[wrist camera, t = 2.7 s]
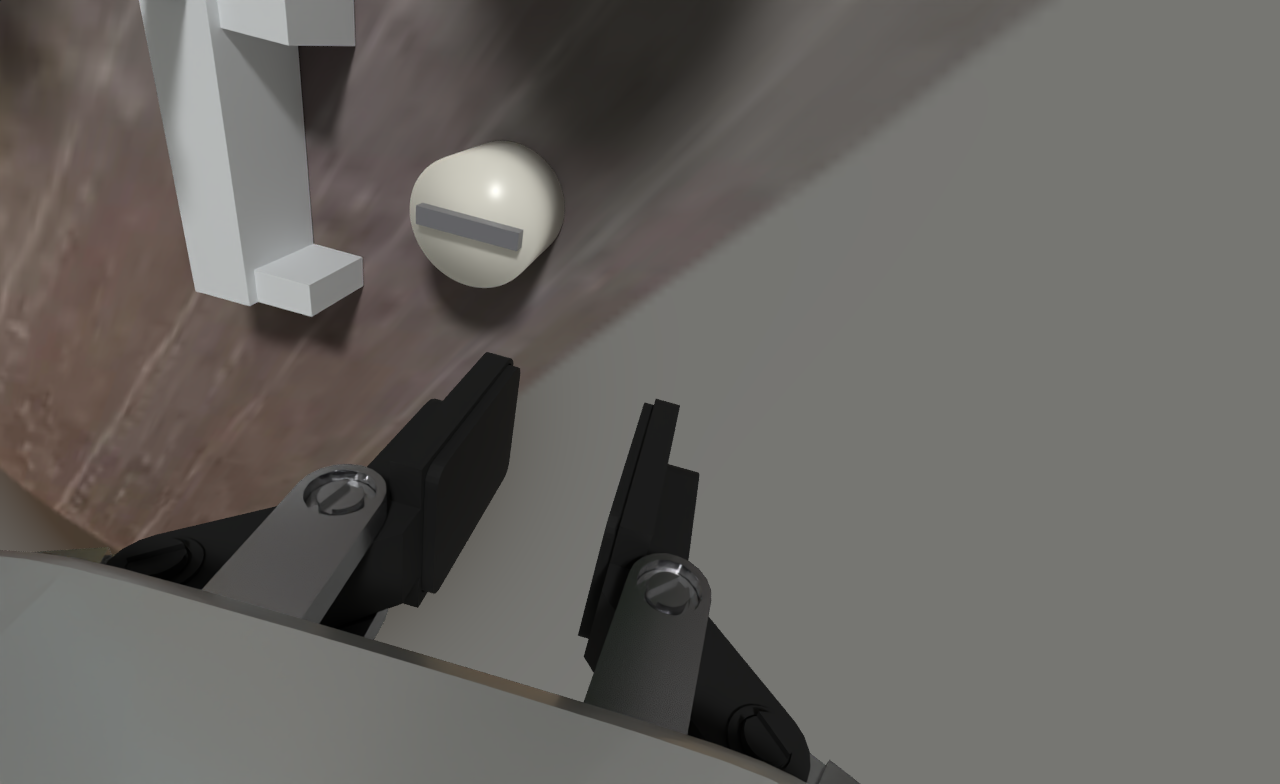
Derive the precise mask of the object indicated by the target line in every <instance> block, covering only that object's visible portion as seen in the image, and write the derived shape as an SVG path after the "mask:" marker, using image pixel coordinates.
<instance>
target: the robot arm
mask: <svg viewBox="0 0 1280 784" xmlns="http://www.w3.org/2000/svg"><path fill="white" fill-rule="evenodd" d="M519 380H520V368H518V367H515V366H513V360H512V359H511V358H507V357H503V356H500V355H496V354H492V353H489V352H486V353H485V354H484V355H483V356H482V357H481V358H480V360H479V361H478V362H477V363H476V364H475V365H474V366H473V367H472V369H471V370H470V371H469V372H468V373H467V374H466V375H465V376H464V378H463V379H462V380H461V381H460V382H459V383H458V384H457V385H456V387H455V388H454V389H453V390H452V391H451V392H450V393H449V394H448V396H447V397H446V398H445V399H444V400H443V401H441V400H438V399H431V400H429V401H428V402H427V403H426V404H425V405H424V406H423V407H422V408H421V409H420V410H419V412H418V413H417V414H416V415H415V416H414V417H413V418H412V419H411V420H410V421H409V422H408V423H407V424H406V425H405V427H404V428H403V429H402V430H401V431H400V432H399V433H398V434H397V435H396V436H395V437H394V438H393V439H392V441H391V442H390V443H389V444H388V445H387V446H386V447H385V448H384V449H383V450H382V451H381V452H380V453H379V455H378V456H377V457H376V458H375V459H374V460H373V461H372V462H371V463H370V464H369V465H368V466H367V467H364V466H361V465H353V464H341V465H333V466H329V467H325V468H321V469H319V470H317V471H315V472H313V473H310V474H308V475H307V476H306V477H305V478H304V479H302V480H301V481H300V482H299V483H298V484H297V485H296V486H295V487H294V488H293V489H292V490H291V492H290V493H289V494H288V495H287V496H286V497H285V498H284V499H283V500H282V502H281V503H280V504H279V505H278V506H276V507H272V508H268V509H263V510H259V511H255V512H251V513H246V514H242V515H238V516H234V517H229V518H225V519H221V520H217V521H212V522H208V523H204V524H200V525H196V526H191V527H187V528H183V529H179V530H174V531H170V532H166V533H162V534H157V535H154V536H151V537H148V538H145V539H142V540H139V541H137V542H135V543H133V544H131V545H129V546H127V547H125V548H124V549H122V550H121V551H119V552H118V553H117V554H111V552H110V550H109V547H104V548H90V549H72V550H57V551H41V552H22V551H21V552H20V551H6V550H0V784H860V783H859V782H857V781H856V780H855V779H853V778H852V777H851V776H850V775H848V774H847V773H846V772H844V771H843V770H842V769H841V768H839V767H838V766H837V765H836V764H834V763H833V762H832V761H830V760H829V761H828V763H827V764H826V765H824V764H823V763H822V762H821V761H819V760H818V759H817V758H816V757H814V756H813V755H812V754H811V753H810V752H809V749H808V746H807V743H806V740H805V738H804V735H803V734H802V732H801V731H800V729H799V727H798V726H797V724H796V723H795V721H794V720H793V719H792V718H791V716H790V715H789V714H788V713H787V712H786V710H785V709H784V708H783V707H782V706H781V704H780V703H779V702H778V701H777V700H776V698H775V697H774V696H773V695H772V693H771V692H770V691H769V690H768V688H767V687H766V686H765V685H764V684H763V682H762V681H761V680H760V679H759V677H758V676H757V675H756V674H755V673H754V672H753V670H752V669H751V668H750V667H749V665H748V664H747V663H746V662H745V660H744V659H743V658H742V657H741V656H740V654H739V653H738V652H737V651H736V650H735V648H734V647H733V646H732V645H731V644H730V642H729V641H728V640H727V639H726V637H725V636H724V635H723V634H722V632H721V631H720V630H719V629H718V628H717V626H716V625H715V624H714V623H713V621H712V620H711V619H710V618H709V617H708V616H709V610H710V604H711V589H710V586H709V584H708V581H707V579H706V577H705V576H704V575H703V574H702V572H701V571H700V570H699V569H698V568H697V567H696V566H694V565H693V564H692V563H691V562H689V561H688V558H689V551H690V543H691V536H692V528H693V520H694V512H695V505H696V497H697V490H698V481H699V473H698V472H694V471H691V470H687V469H684V468H680V467H676V466H673V465H669V464H668V460H669V455H670V451H671V446H672V441H673V436H674V432H675V427H676V422H677V417H678V412H679V407H680V405H676V404H673V403H669V402H666V401H662V400H659V399H656V400H655V404H654V405H651V404H648V403H644V406H643V409H642V412H641V415H640V419H639V422H638V425H637V428H636V431H635V434H634V438H633V441H632V444H631V447H630V450H629V454H628V457H627V460H626V463H625V466H624V470H623V473H622V476H621V479H620V482H619V486H618V489H617V492H616V495H615V498H614V501H613V505H612V508H611V511H610V514H609V518H608V521H607V525H606V529H605V532H604V536H603V540H602V544H601V547H600V551H599V556H598V559H597V563H596V567H595V571H594V575H593V579H592V583H591V587H590V591H589V594H588V598H587V602H586V606H585V610H584V614H583V618H582V622H581V626H580V630H579V634H578V636H581V637H584V638H588V639H589V640H588V643H587V647H586V651H585V654H584V658H585V659H586V661H587V662H588V664H589V666H590V667H591V669H592V671H593V672H594V674H593V677H592V680H591V683H590V686H589V689H588V691H587V694H586V697H585V700H584V703H583V702H580V701H576V700H573V699H570V698H567V697H563V696H560V695H557V694H553V693H550V692H546V691H543V690H540V689H536V688H533V687H530V686H527V685H523V684H520V683H517V682H513V681H510V680H507V679H503V678H500V677H497V676H494V675H490V674H487V673H483V672H480V671H477V670H473V669H470V668H467V667H463V666H459V665H456V664H453V663H450V662H446V661H443V660H439V659H436V658H433V657H429V656H426V655H423V654H419V653H416V652H413V651H409V650H406V649H402V648H399V647H396V646H392V645H389V644H385V643H382V642H378V641H375V640H374V639H375V637H376V635H377V633H378V631H379V630H380V628H381V626H382V624H383V622H384V620H385V618H386V615H387V612H388V608H391V607H394V606H397V605H399V604H402V603H404V604H407V605H410V606H414V607H417V608H418V607H419V605H420V604H421V602H422V600H423V599H424V597H425V595H426V593H427V592H430V593H436V592H437V591H438V590H439V588H440V587H441V585H442V583H443V582H444V580H445V578H446V577H447V575H448V573H449V571H450V569H451V568H452V566H453V564H454V563H455V561H456V559H457V558H458V556H459V554H460V552H461V551H462V549H463V547H464V546H465V544H466V542H467V541H468V539H469V537H470V535H471V534H472V532H473V530H474V529H475V527H476V525H477V523H478V522H479V520H480V518H481V517H482V515H483V513H484V512H485V510H486V508H487V506H488V505H489V503H490V501H491V500H492V498H493V496H494V494H495V493H496V491H497V489H498V488H499V486H500V484H501V482H502V481H503V479H504V477H505V475H506V472H507V469H508V465H509V458H510V450H511V443H512V435H513V427H514V419H515V411H516V403H517V395H518V387H519Z"/></svg>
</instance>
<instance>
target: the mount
mask: <svg viewBox="0 0 1280 784" xmlns="http://www.w3.org/2000/svg"><path fill="white" fill-rule="evenodd" d="M0 1H1V0H0ZM139 3H140V8H141V13H142V18H143V24H144V29H145V34H146V39H147V44H148V49H149V54H150V60H151V65H152V70H153V75H154V80H155V85H156V90H157V95H158V101H159V106H160V111H161V116H162V121H163V126H164V131H165V136H166V142H167V147H168V152H169V157H170V162H171V167H172V172H173V178H174V183H175V188H176V193H177V198H178V203H179V208H180V213H181V219H182V224H183V229H184V234H185V239H186V244H187V249H188V255H189V260H190V265H191V270H192V275H193V280H194V285H195V290H196V291H197V292H201V293H204V294H208V295H212V296H215V297H219V298H222V299H226V300H230V301H233V302H237V303H240V304H244V305H248V306H251V305H253V304H255V303H257V302H260V303H264V304H267V305H271V306H275V307H278V308H282V309H285V310H289V311H293V312H296V313H300V314H303V315H307V316H311V317H313V316H314V315H316V314H318V313H319V312H321V311H322V310H324V309H326V308H327V307H329V306H331V305H332V304H334V303H336V302H337V301H339V300H341V299H342V298H344V297H346V296H347V295H349V294H351V293H352V292H354V291H356V290H357V289H359V288H361V287H362V286H363V257H360V256H356V255H353V254H349V253H346V252H342V251H338V250H335V249H331V248H327V247H324V246H320V245H316V244H314V243H313V231H312V218H311V205H310V192H309V179H308V167H307V154H306V141H305V128H304V116H303V103H302V90H301V77H300V65H299V52H298V46H355V21H354V0H139Z"/></svg>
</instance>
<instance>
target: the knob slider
mask: <svg viewBox="0 0 1280 784" xmlns="http://www.w3.org/2000/svg"><path fill="white" fill-rule="evenodd" d="M564 213H565V201H564V195H563V191H562V188H561V185H560V182H559V180H558V178H557V176H556V174H555V173H554V171H553V170H552V168H551V167H550V165H549V164H548V163H547V162H546V161H545V160H544V159H543V158H542V157H541V156H540V155H539V154H538V153H536V152H535V151H533V150H532V149H530V148H528V147H526V146H524V145H522V144H519V143H516V142H511V141H501V140H500V141H492V142H488V143H485V144H482V145H479V146H476V147H473V148H470V149H468V150H465V151H462V152H459V153H456V154H453V155H450V156H447V157H445V158H442V159H440V160H438V161H435V162H434V163H432V164H431V165H429V166H428V167H427V168H426V169H425V170H424V171H423V172H422V174H421V175H420V176H419V178H418V179H417V181H416V183H415V185H414V188H413V191H412V194H411V199H410V219H411V225H412V228H413V232H414V235H415V237H416V240H417V242H418V244H419V246H420V247H421V249H422V251H423V252H424V254H425V255H426V257H427V258H428V259H429V260H430V261H431V263H432V264H433V265H434V266H435V267H436V268H437V269H439V270H440V271H441V272H442V273H444V274H445V275H446V276H448V277H450V278H451V279H453V280H455V281H457V282H459V283H462V284H465V285H467V286H472V287H477V288H492V287H497V286H501V285H504V284H506V283H508V282H510V281H512V280H513V279H515V278H516V277H517V276H518V275H520V274H521V273H522V272H523V271H524V270H525V269H526V268H527V267H528V266H529V265H530V264H531V263H532V262H533V261H534V260H535V259H536V258H537V257H538V256H539V255H540V254H541V253H543V252H544V251H545V250H546V249H547V248H548V247H549V246H550V245H551V244H552V243H553V242H554V240H555V239H556V237H557V236H558V234H559V232H560V230H561V227H562V224H563V220H564Z"/></svg>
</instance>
